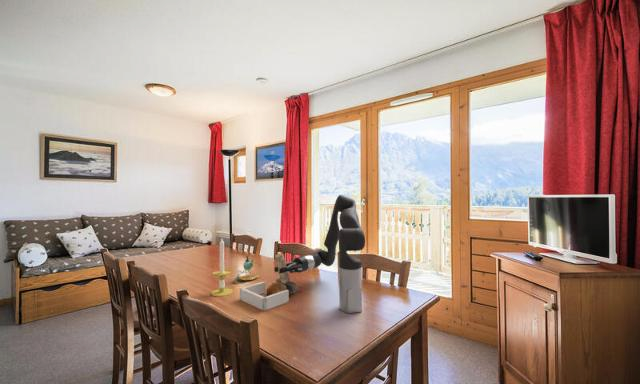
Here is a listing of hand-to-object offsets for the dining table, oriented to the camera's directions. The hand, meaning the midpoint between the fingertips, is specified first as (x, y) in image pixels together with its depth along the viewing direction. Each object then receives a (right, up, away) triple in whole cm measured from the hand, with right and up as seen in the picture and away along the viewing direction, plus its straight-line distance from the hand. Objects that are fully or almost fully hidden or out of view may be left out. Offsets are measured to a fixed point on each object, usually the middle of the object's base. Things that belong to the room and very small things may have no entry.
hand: (277, 270), depth 131 cm
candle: (-28, -12, +4) cm, 30 cm away
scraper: (+4, -10, +4) cm, 12 cm away
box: (-5, -12, -5) cm, 14 cm away
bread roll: (0, -12, -1) cm, 12 cm away
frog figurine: (-21, -12, +25) cm, 35 cm away
